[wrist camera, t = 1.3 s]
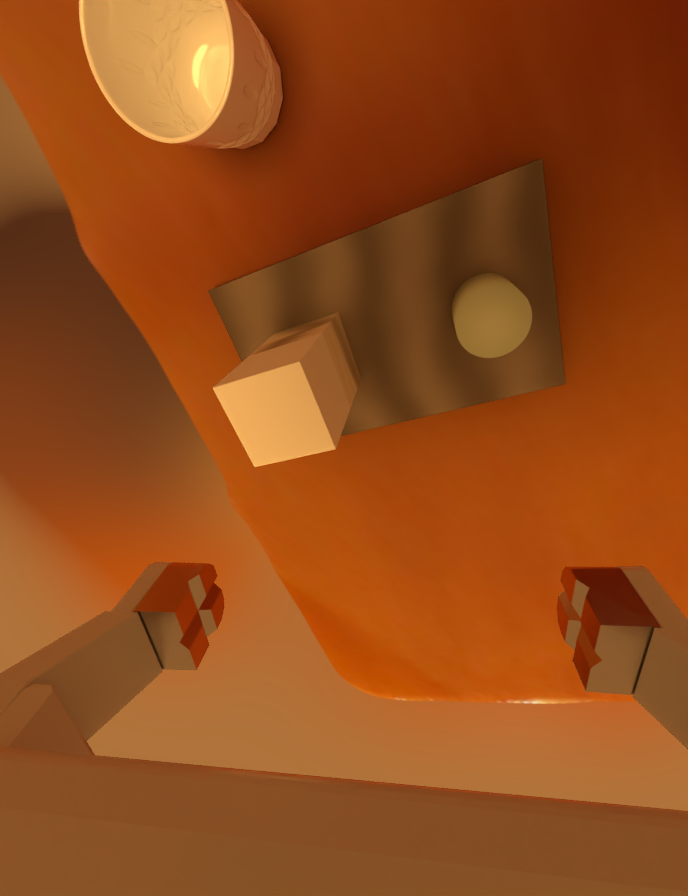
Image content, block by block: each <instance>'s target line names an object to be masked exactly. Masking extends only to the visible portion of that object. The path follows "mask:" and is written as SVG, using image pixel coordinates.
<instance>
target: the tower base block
mask: <svg viewBox="0 0 688 896" xmlns="http://www.w3.org/2000/svg"><path fill="white" fill-rule="evenodd" d="M319 333H323V336H324V338H325V341H326V344H327V346H328V349H329V352H330V355H331V357H332V360H333V363H334V365H335V368H336V371H337V373H338V376H339V379H340V381H341V384H342V387H343V389H344V392H345V395H346V397H347V400H348V403H349V406H350V408H351V406H352V403H353V400H354V397H355V395H356V392H357V389H358V386H359V384H360V381H361V377H360V374H359V371H358V368H357V365H356V363H355V360H354V357H353V354H352V351H351V348H350V345H349V342H348V339H347V337H346V334H345V331H344V328H343V325H342V322H341V319H340V316H339V314H338V313H335V314H332V315H329V316H326V317H323V318H320V319H317V320H314V321H311V322H308V323H305V324H302V325H299V326H296V327H293V328H290V329H287V330H284V331H281V332H278V333H275V334H273V335H272V336H271V337H270V338H269V339H268V340H266V341H265V342H264V343H263V344H262V345H261V346H260V347H258V348H257V349H256V350H255V351H254V352H253V353H252V354H251V355H254V354H257V353H260V352H264V351H267V350H270V349H273V348H276V347H279V346H282V345H285V344H288V343H291V342H294V341H298V340H301V339H304V338H307V337H310V336H313V335H316V334H319ZM251 355H249V356H251Z"/></svg>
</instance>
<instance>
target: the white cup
mask: <svg viewBox="0 0 688 896" xmlns="http://www.w3.org/2000/svg"><path fill="white" fill-rule="evenodd" d="M79 18H80V28H81V34H82V40H83V44H84V48H85V52H86V56H87V59H88V62H89V65H90V67H91V70H92V72H93V75H94V77H95V79H96V81H97V83H98V85H99V87H100V89H101V91H102V93H103V94H104V96H105V97H106V99H107V100H108V102H109V103H110V105H111V106H112V107H113V109H114V110H115V111H116V112H117V113H118V115H119V116H120V117H121V118H122V119H123V120H124V121H125V122H126V123H127V124H129V125H130V126H131V127H132V128H134V129H135V130H136V131H138V132H139V133H141V134H143V135H144V136H146V137H148V138H151V139H153V140H156V141H159V142H164V143H172V144H181V145H190V146H198V147H206V148H221V149H226V148H239V149H246V148H248V147H251V146H253V145H256V144H258V143H261V142H263V141H264V139H265V138H266V137H267V136H268V134H269V133H270V132H271V130H272V129H273V128H274V127H275V125H276V124H277V120H278V116H279V112H280V108H281V104H282V100H283V92H282V81H281V71H280V67H279V65H278V62H277V60H276V58H275V56H274V54H273V51H272V49H271V47H270V45H269V43H268V41H267V40H266V38H265V37H264V36H263V35H262V34H261V32H260V31H259V29H258V27H257V26H256V24H255V23H254V21H253V20H252V18H251V17H250V16H249V14H248V13H247V12H246V10H245V9H244V7H243V6H242V5H241V3H240V2H239V1H238V0H79Z"/></svg>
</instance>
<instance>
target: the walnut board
mask: <svg viewBox="0 0 688 896" xmlns="http://www.w3.org/2000/svg"><path fill="white" fill-rule="evenodd" d="M487 272H489V273H497V274H500V275H502V276H504V277H506V278H507V279H508V280H509V281H511V282H512V283H513V284H514V285H515V286H516V287H517V288H518V289H519V290H520V291H521V292H522V293H523V294H524V295H525V296H526V298H527V299H528V301H529V303H530V306H531V310H532V323H531V327H530V330H529V332H528V334H527V336H526V338H525V339H524V340H523V342H522V343H521V344H520V345H519V346H518V347H517V348H515V349H514V350H513V351H511V352H509V353H507V354H505V355H503V356H500V357H495V358H482V357H478V356H475V355H473V354H471V353H469V352H468V351H467V350H466V349H464V347H463V346H462V345H461V344H460V342H459V340H458V338H457V334H456V330H455V325H454V321H453V317H452V302H453V299H454V296H455V294H456V292H457V290H458V289H459V287H460V286H461V285H462V284H463V283H464V282H465V281H466V280H468V279H469V278H471V277H473V276H475V275H477V274H481V273H487ZM208 292H209V294H210V296H211V298H212V300H213V302H214V304H215V306H216V308H217V311H218V313H219V315H220V317H221V319H222V321H223V323H224V325H225V327H226V329H227V331H228V334H229V336H230V338H231V340H232V342H233V344H234V346H235V348H236V350H237V352H238V354H239V356H240V359H241V361H242V362H243V361H244V360H245V359H246V358H247V357H248V356H249V355H251V354H252V353H253V352H254V351H255V350H256V349H257V348H258V347H260V346H261V345H262V344H263V343H264V342H265V341H266V340H268V339H269V338H270V337H271V336H272V335H273V334H275V333H278V332H281V331H284V330H287V329H290V328H293V327H296V326H299V325H302V324H305V323H308V322H311V321H314V320H317V319H320V318H323V317H326V316H329V315H332V314H335V313H338V314H339V316H340V319H341V322H342V325H343V328H344V331H345V334H346V337H347V339H348V342H349V345H350V348H351V351H352V354H353V357H354V360H355V363H356V365H357V368H358V371H359V374H360V377H361V381H360V384H359V386H358V389H357V392H356V395H355V397H354V400H353V403H352V406H351V408H350V411H349V414H348V417H347V419H346V422H345V425H344V428H343V430H342V433H341V436H343V435H347V434H352V433H356V432H360V431H365V430H369V429H373V428H378V427H382V426H386V425H391V424H395V423H399V422H404V421H408V420H412V419H416V418H421V417H425V416H429V415H434V414H438V413H442V412H447V411H451V410H455V409H460V408H464V407H468V406H473V405H477V404H481V403H486V402H490V401H494V400H498V399H503V398H507V397H511V396H516V395H520V394H524V393H529V392H533V391H537V390H542V389H546V388H550V387H555V386H559V385H563V384H565V375H564V365H563V355H562V346H561V336H560V326H559V316H558V307H557V297H556V287H555V277H554V268H553V258H552V248H551V238H550V229H549V219H548V209H547V199H546V190H545V180H544V170H543V160H542V159H539V160H536V161H534V162H531V163H529V164H526V165H524V166H521V167H519V168H516V169H513V170H511V171H508V172H506V173H503V174H501V175H498V176H496V177H493V178H491V179H488V180H486V181H483V182H481V183H478V184H476V185H473V186H471V187H468V188H466V189H463V190H461V191H458V192H455V193H453V194H450V195H448V196H445V197H443V198H440V199H438V200H435V201H433V202H430V203H428V204H425V205H423V206H420V207H418V208H415V209H413V210H410V211H408V212H405V213H403V214H400V215H398V216H395V217H392V218H390V219H387V220H385V221H382V222H380V223H377V224H375V225H372V226H370V227H367V228H365V229H362V230H360V231H357V232H355V233H352V234H350V235H347V236H345V237H342V238H340V239H337V240H334V241H332V242H329V243H327V244H324V245H322V246H319V247H317V248H314V249H312V250H309V251H307V252H304V253H302V254H299V255H297V256H294V257H292V258H289V259H287V260H284V261H282V262H279V263H277V264H274V265H271V266H269V267H266V268H264V269H261V270H259V271H256V272H254V273H251V274H249V275H246V276H244V277H241V278H239V279H236V280H234V281H231V282H229V283H226V284H224V285H221V286H219V287H216V288H214V289H211V290H209V291H208Z"/></svg>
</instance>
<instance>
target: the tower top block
mask: <svg viewBox="0 0 688 896" xmlns="http://www.w3.org/2000/svg"><path fill="white" fill-rule="evenodd" d="M213 390H214V392H215V394H216V395H217V397H218V399H219V401H220V403H221V405H222V407H223V409H224V411H225V412H226V414H227V416H228V418H229V420H230V422H231V424H232V426H233V427H234V429H235V431H236V433H237V435H238V437H239V439H240V441H241V443H242V444H243V446H244V448H245V450H246V452H247V454H248V456H249V458H250V460H251V461H252V463H253V465H254V467H258V466H262V465H267V464H271V463H276V462H280V461H285V460H289V459H294V458H298V457H303V456H307V455H312V454H316V453H321V452H325V451H330V450H334V449H336V447H337V444H338V441H339V439H340V436H341V433H342V430H343V428H344V425H345V422H346V419H347V417H348V414H349V411H350V406H349V403H348V400H347V397H346V395H345V392H344V389H343V387H342V384H341V381H340V379H339V376H338V373H337V371H336V368H335V365H334V363H333V360H332V357H331V355H330V352H329V349H328V346H327V344H326V341H325V338H324V336H323V333H319V334H316V335H313V336H310V337H307V338H304V339H301V340H298V341H294V342H291V343H288V344H285V345H282V346H279V347H276V348H273V349H270V350H267V351H264V352H260V353H257V354H254V355H251V356H248V357H247V358H246V359H245V360H244V361H243V362H241V363H240V364H239V365H238V366H237V367H236V368H235V369H234V370H232V371H231V372H230V373H229V374H228V375H227V376H226V377H224V378H223V379H222V380H221V381H220V382H219V383H218V384H217V385H215V386H214V387H213Z"/></svg>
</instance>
